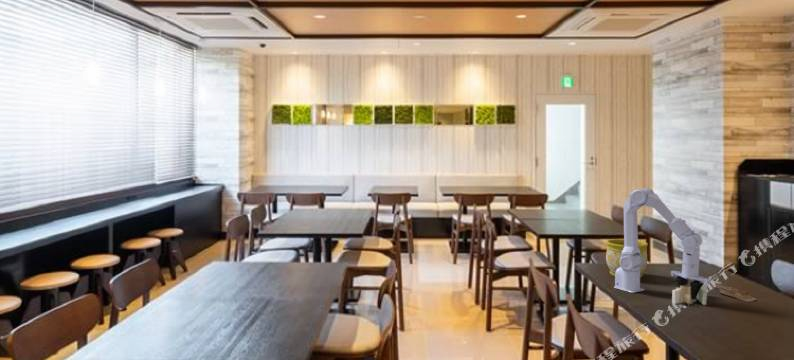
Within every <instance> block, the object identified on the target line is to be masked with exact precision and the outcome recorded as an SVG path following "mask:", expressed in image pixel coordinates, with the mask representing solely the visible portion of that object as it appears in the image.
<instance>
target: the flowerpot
mask: <svg viewBox="0 0 794 360" xmlns="http://www.w3.org/2000/svg"><path fill="white" fill-rule="evenodd" d="M605 243H606V254H605V262H606V265H607V267H608V269H609V273H610V275H611V276H612V277H613V276H614V278H615V273H616V270H617V269H618V268H619V267H621V266H620V263H619V260H620V258H621V253H622V250H623V248H624V238H611V239H606V241H605ZM648 245H649V244H648V242H646V241H644V240H639V239H638V248H639V249H640V254H641V257H642V259H643V262H642V264H641V265H640V279H641V278H642V277H643V275H644V274H643V273H644V272H645V270H646V268H647V266H648V253H647V252H648V249H647V247H648Z"/></svg>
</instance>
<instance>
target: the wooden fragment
mask: <svg viewBox="0 0 794 360" xmlns="http://www.w3.org/2000/svg"><path fill="white" fill-rule="evenodd" d="M714 286H715V287H716V288H717V291H718V292H719V293H720V295H724V296H725V295H726V296H727V297H732V298H735V299H738V300H741V301H745V303H750V302H751V303H752V302H756V301H758V298H756V297H753V296H751V295H750V294H747V292H746V291H744V290H742V289H738V288H736V287H732V286H727V285H721V284H714Z"/></svg>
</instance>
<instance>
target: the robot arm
mask: <svg viewBox="0 0 794 360" xmlns="http://www.w3.org/2000/svg"><path fill="white" fill-rule="evenodd" d="M643 206H645V207H647V208H648V207H649V208H654V210H655V211H656V212H657V213H658V214H659V215H660V216H661V217H662V218H663V219H665V221H667V222H668V228H669V229H670V230H671V231H672V232H673V234H674V235H675V236H676V237H677V238H678V239H679V240H680V244H681V246H682V248H683V250H682V265H681V271H680V270H675V269H674V270H671V271H670V276H671V277H676V278H675V280H674V281H675V283H676V284H677V287H678V288H680V286H682V285H686V284H688V282H689V281H690V282H689V285H691V299H693V300H694V299H697V298H696V297H697V294H698V292H699V290H700V288H701V287H702V286H703V284H706V285H707V286H708V285H710V284H711V278H707V277H705V276H702V275H699V269H700V254H701V253H700V251H701V250H700V249H701V247H700V246H701V245H702V244H703V238H702V236H701V235H700V234H699V233H697V232H696V231H695V230H694V229H691V227H690V226H689V225H688V224H687V221H686V219H682V218H681V217H676V216H675V215H674V213H673V212H672V211H671V210H670V209H669V208H668V206H667V205H666V204H665V203H664V202H663V200H661V198H660V197H659V195H658V194H657V193H655V192H654V190H653V189H652V188H648V187H644V188H641V189H640V188H638V189H635V190H633V191H631V192H630V193H629V194H628V198H627V199H626V201H625V203H624V204H623V239H624V248H623V250H622V253H621V258H620V260H619V263H620V266H621V267H619V268H618V269H617V270H616V273H615V277H614V286H613V288H614V289H618V290H621V291H624V292H628V293H631V294H635V293H637V292H643V291H645V288H641V278H640V265H641V264H642V262H643V259H642V257H641V254H640V249H639V248H638V240H639V236H638V235H639V234H638V230H639V229H638V210H639V209H641V208H642V207H643Z"/></svg>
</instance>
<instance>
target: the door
mask: <svg viewBox="0 0 794 360" xmlns="http://www.w3.org/2000/svg"><path fill="white" fill-rule="evenodd" d="M696 299H697V300H698V301H699V302H700V303H701V304H702V305H703V306H706V305H707V300H708V299H709V298H708V295H707V296H706V292H705V291H704V290H703V289H702V288H700V290H699V292H698V294H697V297H696Z"/></svg>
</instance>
